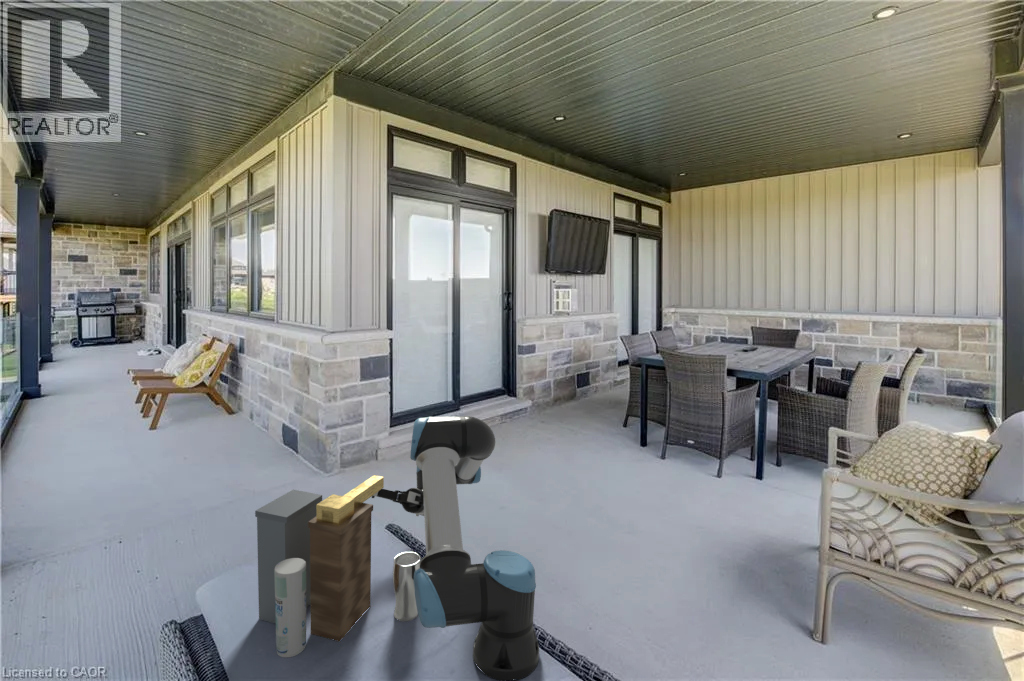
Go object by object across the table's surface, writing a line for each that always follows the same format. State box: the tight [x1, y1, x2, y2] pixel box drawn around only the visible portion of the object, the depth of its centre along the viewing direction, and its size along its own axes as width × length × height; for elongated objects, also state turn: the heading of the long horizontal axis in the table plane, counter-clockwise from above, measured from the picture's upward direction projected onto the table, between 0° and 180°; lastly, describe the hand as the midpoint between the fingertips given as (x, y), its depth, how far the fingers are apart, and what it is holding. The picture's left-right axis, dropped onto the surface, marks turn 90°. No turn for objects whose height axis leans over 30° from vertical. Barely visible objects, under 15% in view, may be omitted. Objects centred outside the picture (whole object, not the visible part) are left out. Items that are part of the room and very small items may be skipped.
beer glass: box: [392, 551, 421, 622], centre depth 126 cm, size 7×7×15 cm
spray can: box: [274, 558, 307, 658], centre depth 113 cm, size 6×6×20 cm
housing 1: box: [254, 489, 323, 625], centre depth 126 cm, size 13×9×28 cm
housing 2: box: [308, 502, 374, 642], centre depth 122 cm, size 13×9×28 cm
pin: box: [316, 475, 385, 526], centre depth 125 cm, size 22×6×4 cm, turn 164°
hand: (387, 492), depth 141 cm, fingers open, 13 cm apart
